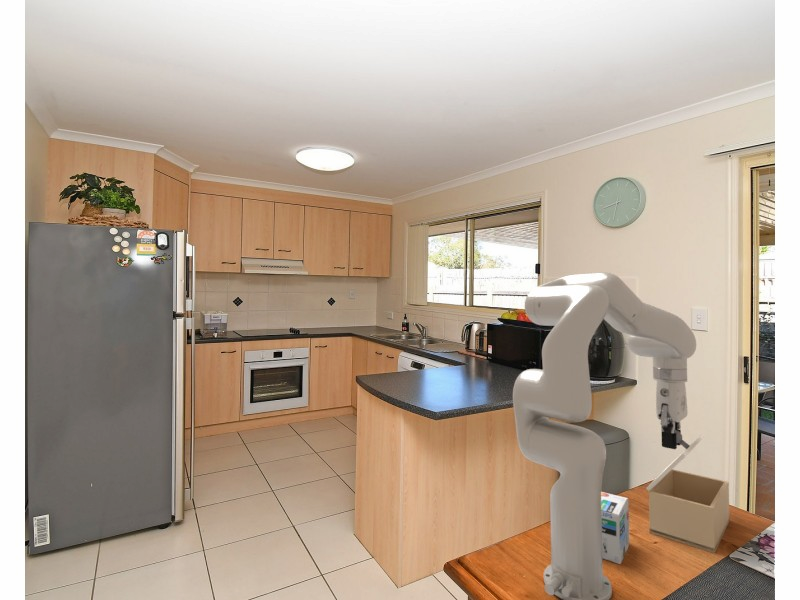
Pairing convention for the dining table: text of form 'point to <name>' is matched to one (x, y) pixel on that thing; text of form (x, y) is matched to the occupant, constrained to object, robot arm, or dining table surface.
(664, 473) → the flap
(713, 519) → the beige box
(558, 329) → the robot arm
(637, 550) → the dining table surface
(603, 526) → the light bulb box
